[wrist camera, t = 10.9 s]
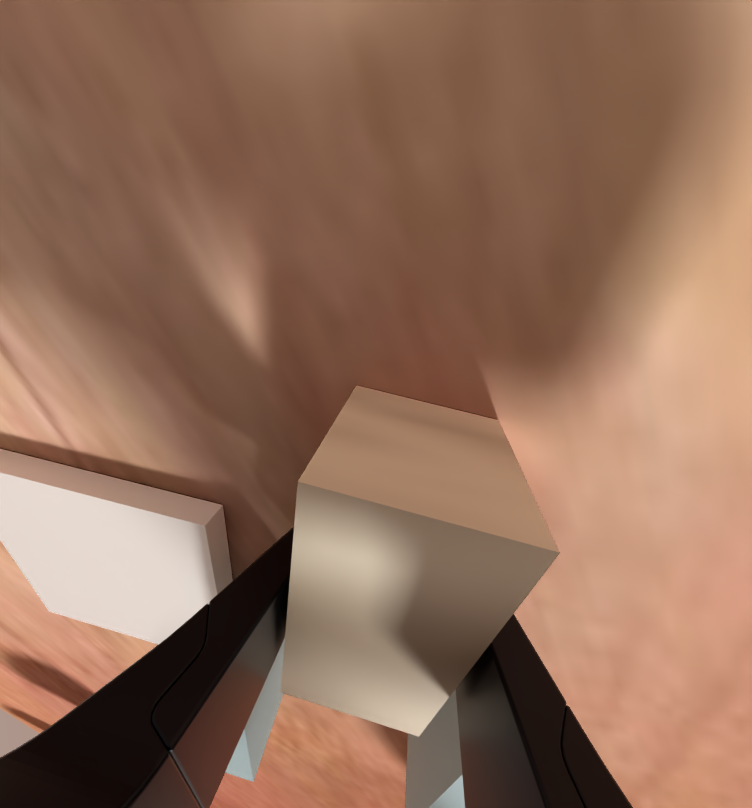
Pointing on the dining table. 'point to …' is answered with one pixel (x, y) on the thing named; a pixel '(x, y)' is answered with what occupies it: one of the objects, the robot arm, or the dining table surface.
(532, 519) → the maple block
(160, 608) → the ceramic tile
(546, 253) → the dining table surface
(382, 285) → the dining table surface
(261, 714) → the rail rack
